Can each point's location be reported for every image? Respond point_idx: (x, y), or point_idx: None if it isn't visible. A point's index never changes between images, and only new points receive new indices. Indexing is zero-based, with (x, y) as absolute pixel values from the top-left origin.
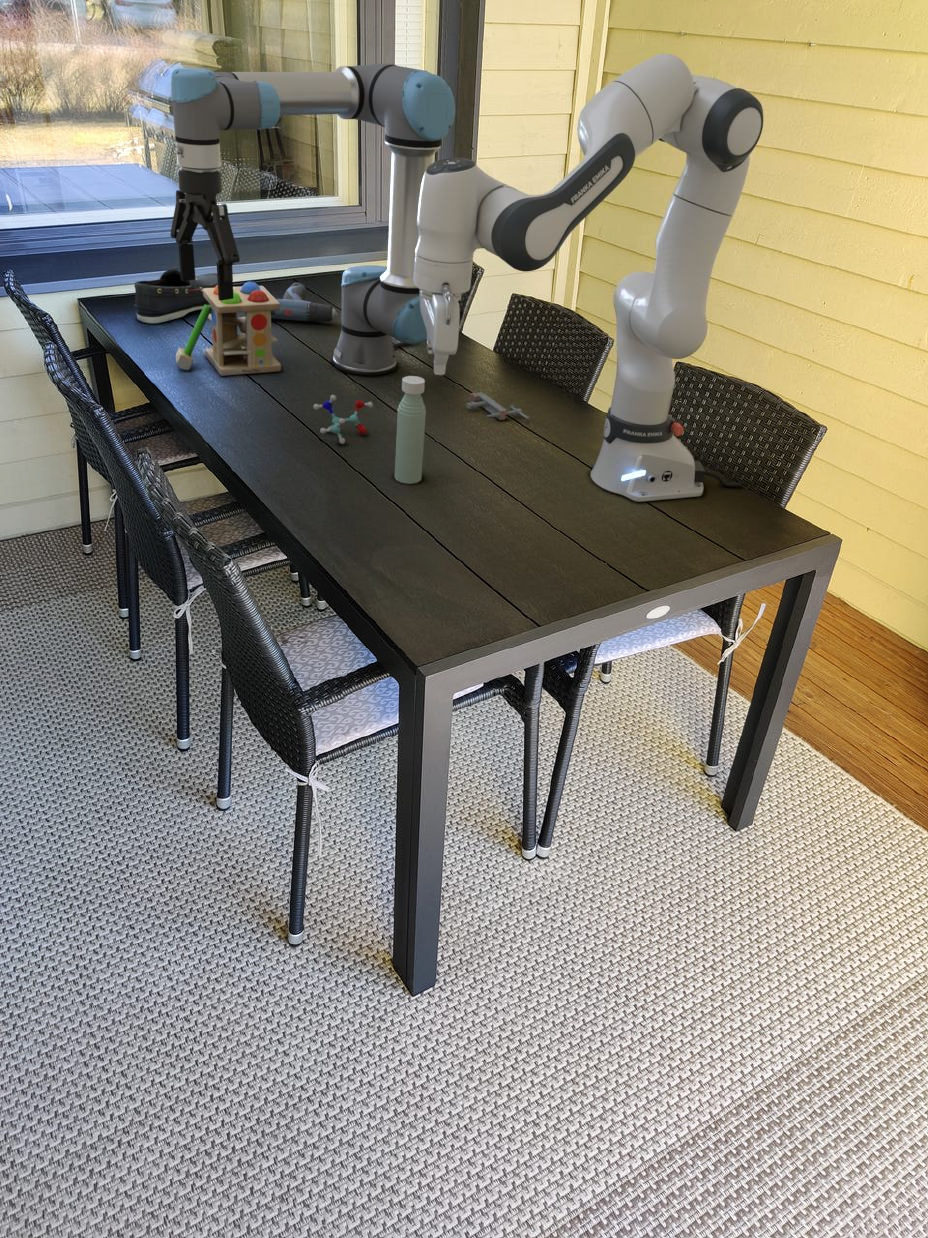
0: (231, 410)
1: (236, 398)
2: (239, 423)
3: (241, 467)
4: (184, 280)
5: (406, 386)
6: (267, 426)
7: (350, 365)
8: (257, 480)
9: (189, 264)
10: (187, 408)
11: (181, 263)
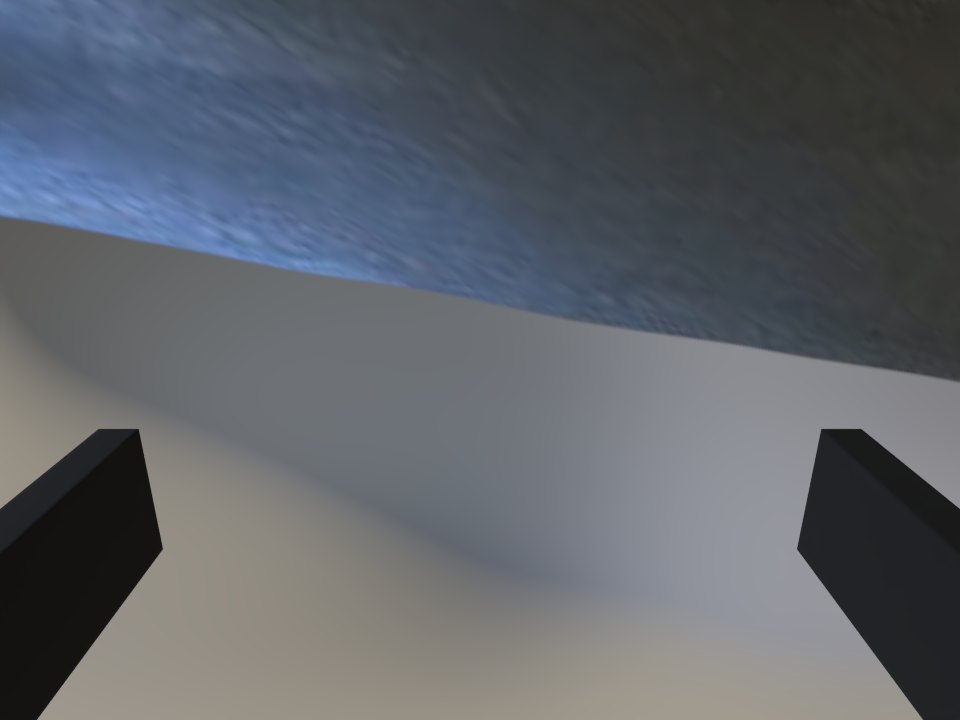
0: (375, 108)
1: (275, 20)
2: (493, 150)
3: (773, 328)
4: (160, 540)
5: None
6: (571, 73)
7: None
8: (871, 335)
9: (58, 581)
10: (287, 237)
11: (61, 681)
